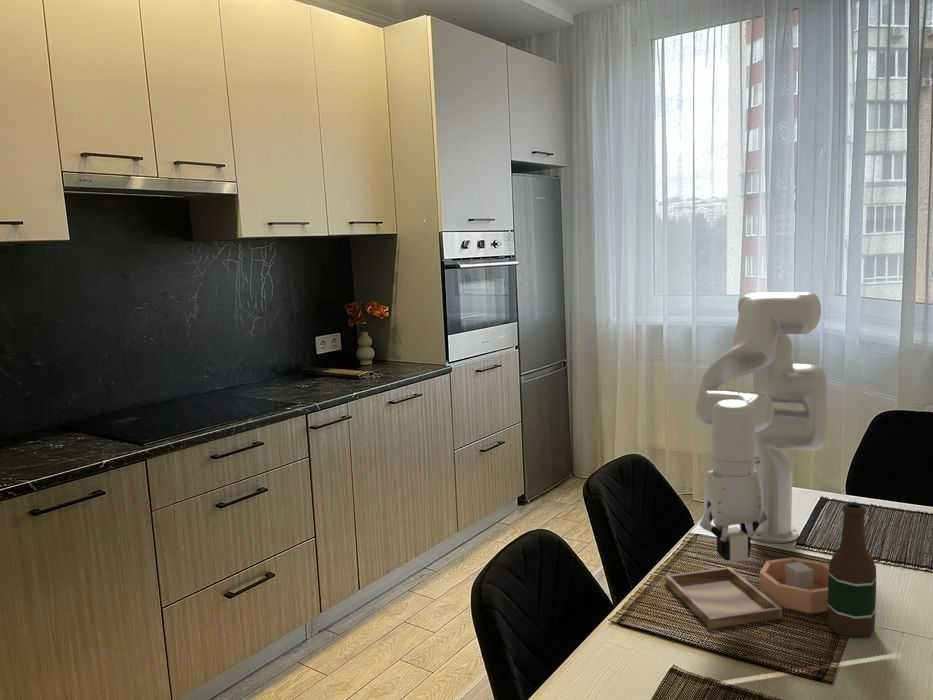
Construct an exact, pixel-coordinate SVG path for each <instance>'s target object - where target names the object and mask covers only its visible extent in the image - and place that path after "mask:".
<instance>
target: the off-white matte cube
mask: <svg viewBox="0 0 933 700" xmlns="http://www.w3.org/2000/svg"><path fill="white" fill-rule="evenodd" d="M785 585H789V586H794V587H798V588H803V589H808V590H813V569H811V568H809V567H808V566H806V565H805V564H803V563H801V562H795V563H789V564H785Z"/></svg>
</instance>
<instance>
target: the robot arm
mask: <svg viewBox="0 0 933 700" xmlns="http://www.w3.org/2000/svg"><path fill="white" fill-rule="evenodd" d="M737 311H738V318H737V322H736V327H735V330H734V331H735V332H734V336H733V341H732V345H731V348H730V349H729V350H727V351H726V352H724V353H723V354H721V355H720V356H719V357H718V358H716V360H713V362H712V363H711V364H710V365H709V366H708V367H707V368H706V370H705V372H704V373H703V375H702V378H701V381H700V385H699V389H698V393H697V397H696V404H695V413H696V417H697V420H698V421H699V422H700V423H701V424H702V425H704V426H706V427H710V428H712V470H709V471H708V472H707V476H706V480H705V486H704V494H703V495H704V496H703V517H702V519H701V521H700V522H699V527H701V528H702V529H703V530H706V531H708V532H709V533H712V534H713V535H714V536H715V537H716V552H717V554H718V555H719V557H721V558H722V559H723V560H725V561H729V541H728V540H727V534H728V528H730V527H729V526H735V525H736V526H737V525H739V529H740V530H741V531H743V532H744V533H746V534H747V535H748V558H750V556H751V554H750V551H751V549H752V546H751V545H752V543H751V539H752V540H756V541H759V542H764V543H772V544H773V543H774V544H783V543H789V542H793V541H795V540H797V539H798V538H799V530H798V529H797V528H796V527H795V526H794V525H792V508H793V507H792V506H793V505H792V504H793V501H792V500H793V498H792V497H793V465H792V461H791V459H790V458H789V456H788V455H787V454H786V452H785V451H784V450H783V449H789V450H801V451H819V450H821V449H822V448H823V447H824V446H825V443H826V439H827V428H828V427H827V424H828V423H827V421H828V420H827V419H828V417H827V416H828V415H827V413H828V412H827V411H828V381H827V375H826V372H825V371H824V369H823V368H822V367H820V366H819V365H816V364H811V363H810V364H809V363H794V362H793V342H792V340H791V337H790V336H789V335H808V334H809V333H811V332H813V331H814V329H816V327H817V326H818V325H819V323H820V320H821V316H822V305H821V300H820V299H819V297H818V296H817V294H815V293H814V292H801V291H799V292H797V291H796V292H778V291H776V292H774V291H772V292H765V291H764V292H753V293H748V294H744V295H743V296H741V297H740V298H739V300H738V303H737ZM750 374H752V387H753V391H741V390H731V389H729V390H728V389H727V390H726V389H720V388H721V387H722V386H723V385H724V384H726V383H728V382H730V381H731V380H734V379H736V378H737V379H738V378H740V377H743V376H746V375H750ZM774 403H778V404H793V405H801V406H803V407H804V409H803V408H801V409H800V408H789V407H776V406H775V405H774ZM712 521H713V524H714V525H713V524H712Z"/></svg>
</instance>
